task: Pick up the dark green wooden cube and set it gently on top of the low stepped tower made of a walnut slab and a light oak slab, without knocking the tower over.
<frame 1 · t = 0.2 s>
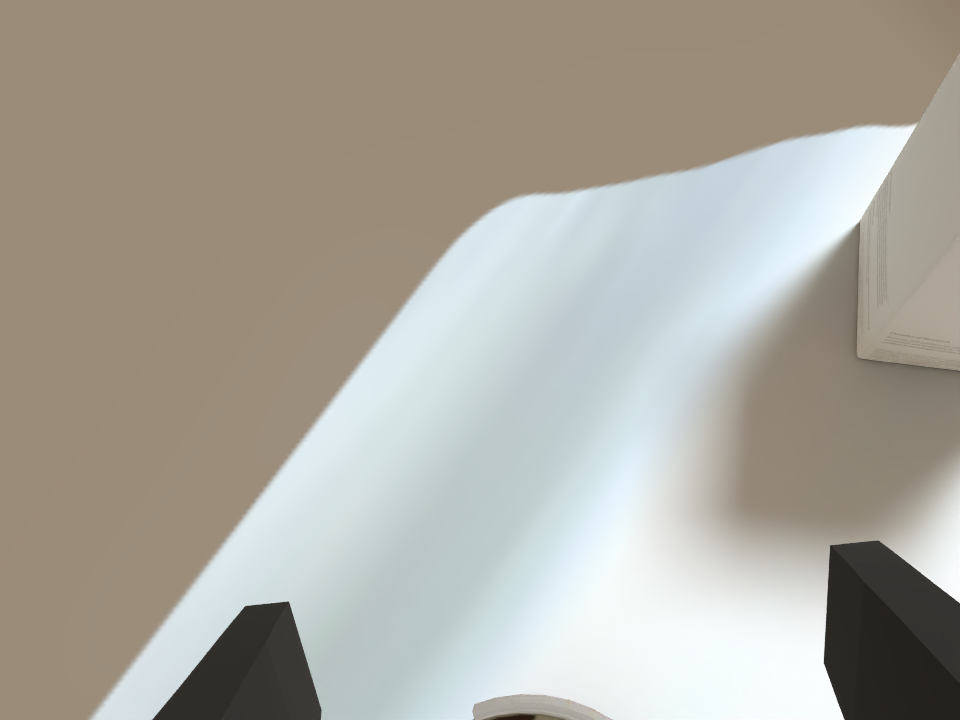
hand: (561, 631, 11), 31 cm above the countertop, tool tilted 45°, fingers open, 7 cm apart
supplement box: (941, 297, 46), on the countertop
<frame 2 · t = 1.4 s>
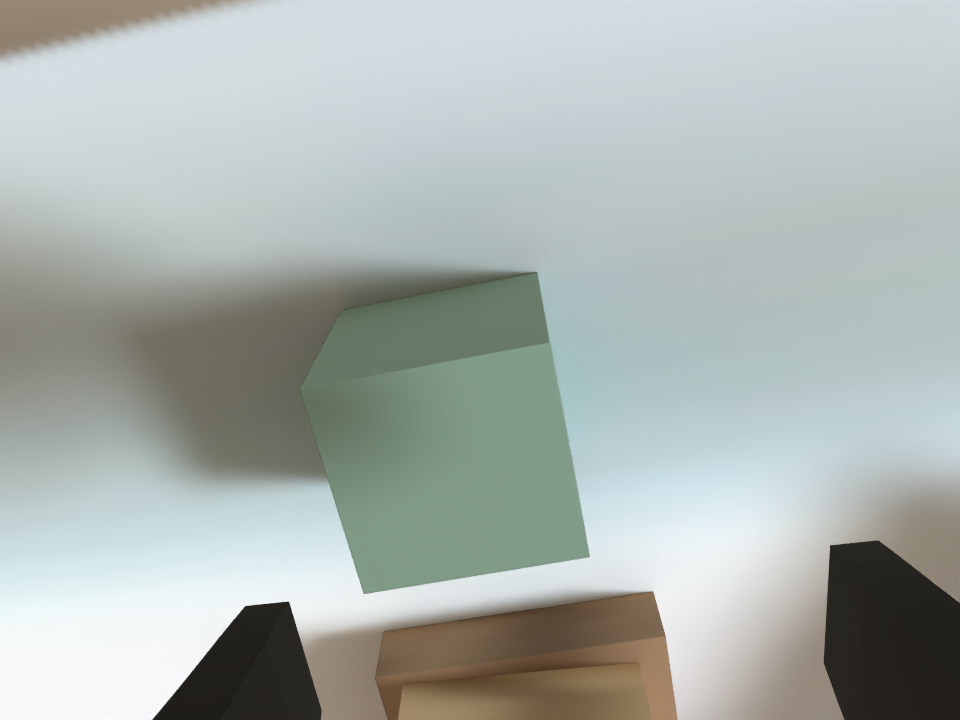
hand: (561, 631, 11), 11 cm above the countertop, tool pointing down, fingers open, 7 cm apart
green cube: (459, 380, 22), on the countertop
walnut slab: (538, 700, 27), on the countertop, touching oak slab
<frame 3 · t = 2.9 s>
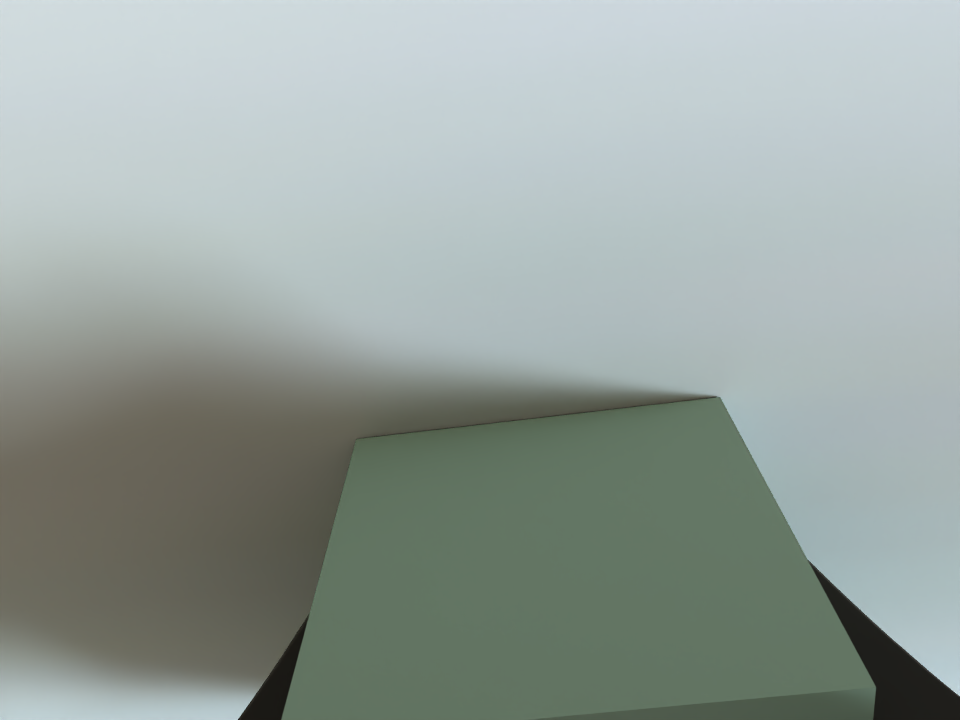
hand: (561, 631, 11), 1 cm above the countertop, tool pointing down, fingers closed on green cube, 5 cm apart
green cube: (553, 563, 13), on the countertop, touching gripper
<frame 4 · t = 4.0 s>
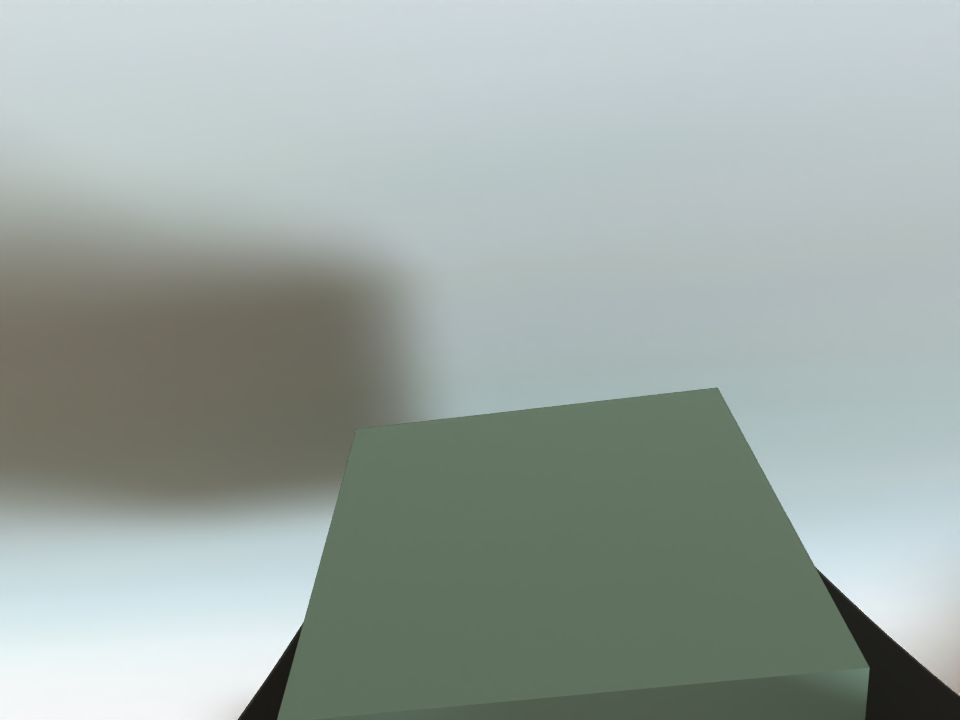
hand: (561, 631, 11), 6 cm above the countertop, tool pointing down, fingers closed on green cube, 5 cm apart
green cube: (552, 552, 13), point 4 cm above the countertop, touching gripper
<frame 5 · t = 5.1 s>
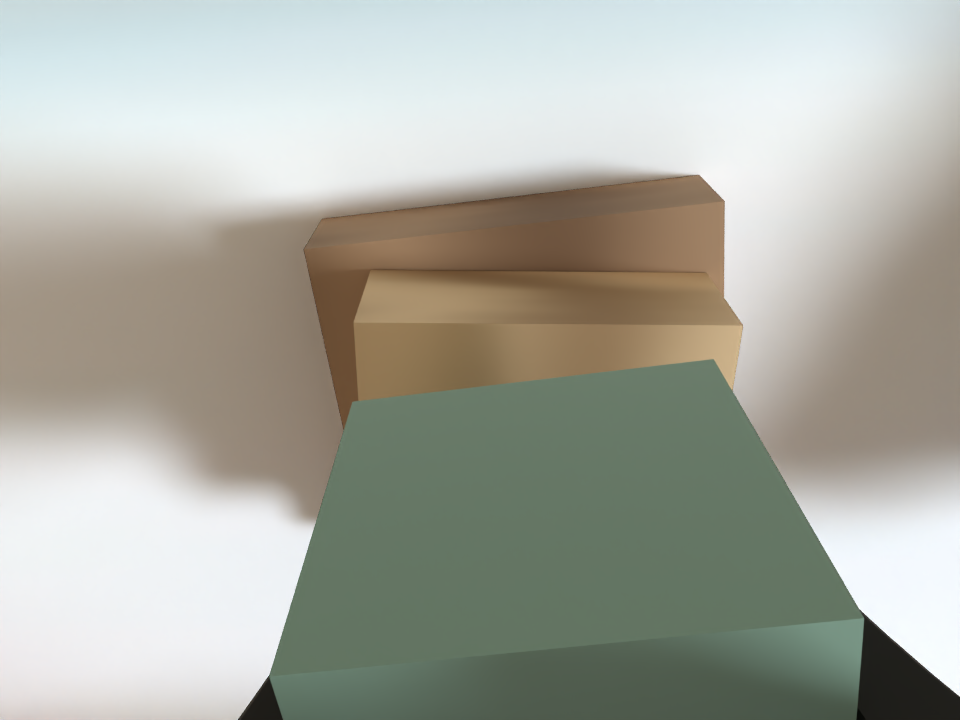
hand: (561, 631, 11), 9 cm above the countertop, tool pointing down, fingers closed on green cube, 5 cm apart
green cube: (548, 528, 13), point 7 cm above the countertop, touching gripper
walnut slab: (525, 357, 20), on the countertop, touching oak slab
oak slab: (532, 416, 18), point 2 cm above the countertop, touching walnut slab
when the fingers open (8 cm above the countertop, at t = 6.0 s): green cube drops 2 cm, resting on oak slab.
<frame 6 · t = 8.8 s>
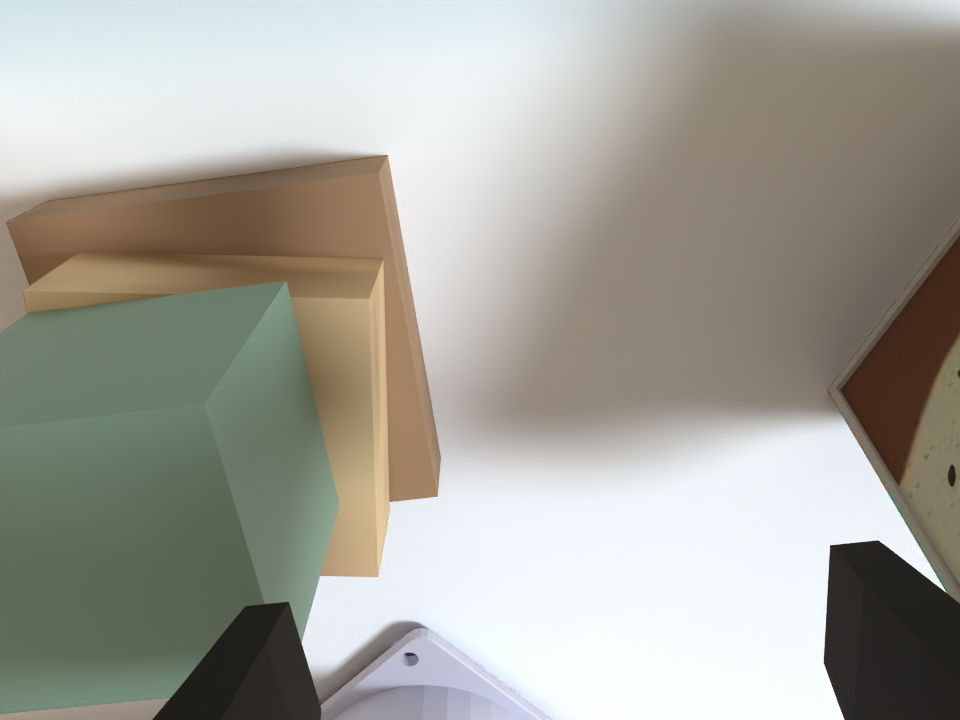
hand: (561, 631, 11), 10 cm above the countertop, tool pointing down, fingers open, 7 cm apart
green cube: (192, 413, 17), point 4 cm above the countertop, touching oak slab
walnut slab: (263, 327, 21), on the countertop, touching oak slab
oak slab: (246, 390, 19), point 2 cm above the countertop, touching green cube, walnut slab
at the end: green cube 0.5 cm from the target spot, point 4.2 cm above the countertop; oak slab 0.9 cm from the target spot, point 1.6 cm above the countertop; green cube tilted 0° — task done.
